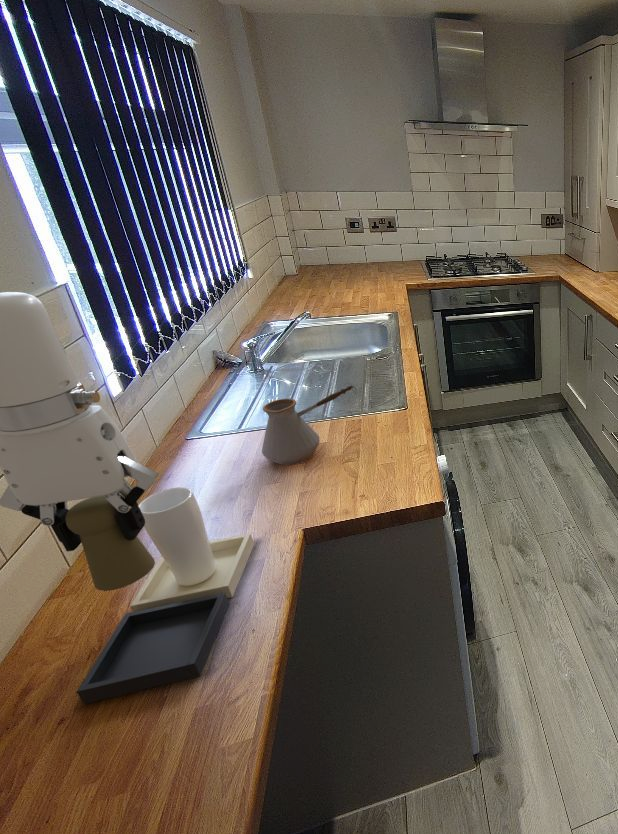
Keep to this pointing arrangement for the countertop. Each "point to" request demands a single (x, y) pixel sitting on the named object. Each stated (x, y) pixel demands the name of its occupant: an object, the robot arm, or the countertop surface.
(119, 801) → the countertop surface
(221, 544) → the cream tray
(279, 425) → the coffee pot
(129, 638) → the charcoal tray
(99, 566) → the cork
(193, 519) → the drinking glass
